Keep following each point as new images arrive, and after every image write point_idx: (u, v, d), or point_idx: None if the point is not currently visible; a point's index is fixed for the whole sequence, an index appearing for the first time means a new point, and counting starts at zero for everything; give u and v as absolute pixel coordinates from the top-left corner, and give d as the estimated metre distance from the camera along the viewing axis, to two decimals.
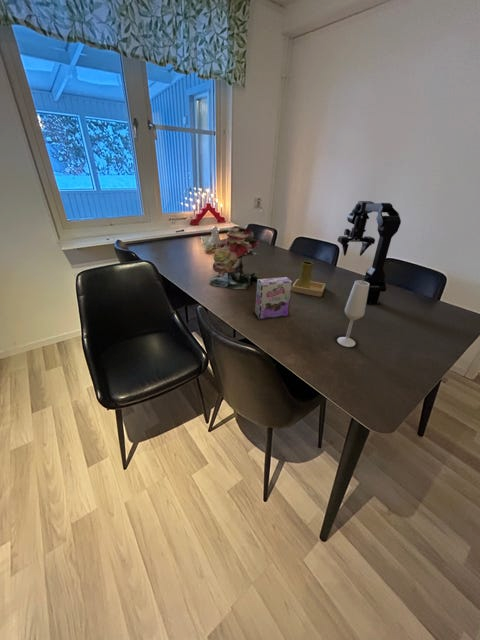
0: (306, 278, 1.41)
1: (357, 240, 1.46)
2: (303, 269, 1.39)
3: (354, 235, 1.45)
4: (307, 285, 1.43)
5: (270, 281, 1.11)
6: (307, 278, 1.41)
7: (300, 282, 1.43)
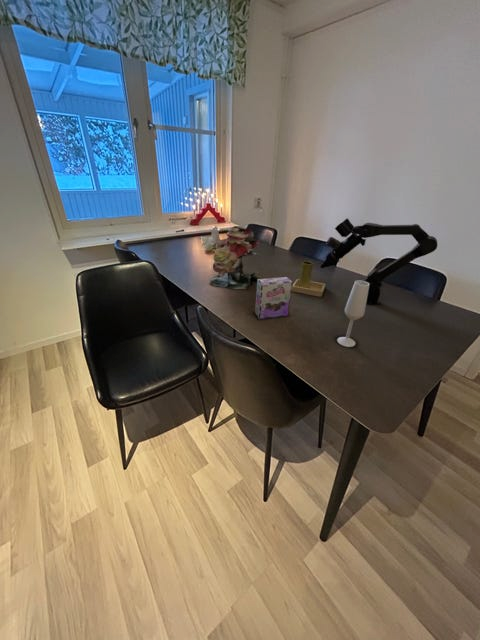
0: (306, 278, 1.41)
1: None
2: (303, 269, 1.39)
3: (342, 254, 1.30)
4: (307, 285, 1.43)
5: (270, 281, 1.11)
6: (307, 278, 1.41)
7: (300, 282, 1.43)
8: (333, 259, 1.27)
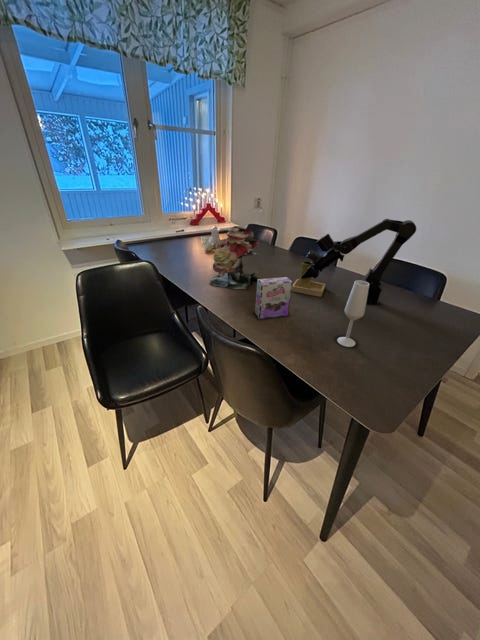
0: (306, 278, 1.41)
1: None
2: (303, 269, 1.39)
3: (321, 267, 1.35)
4: (307, 285, 1.43)
5: (270, 281, 1.11)
6: (307, 278, 1.41)
7: (300, 282, 1.43)
8: (314, 273, 1.31)
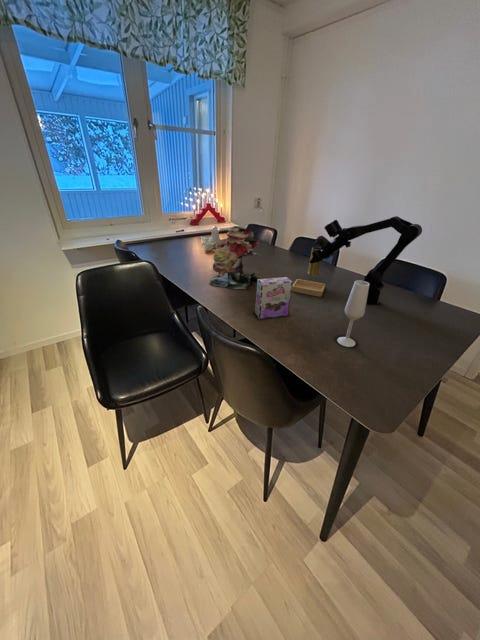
0: (314, 263, 1.46)
1: None
2: None
3: (328, 253, 1.39)
4: (315, 270, 1.48)
5: (270, 281, 1.11)
6: (315, 263, 1.46)
7: (309, 267, 1.49)
8: (317, 256, 1.36)
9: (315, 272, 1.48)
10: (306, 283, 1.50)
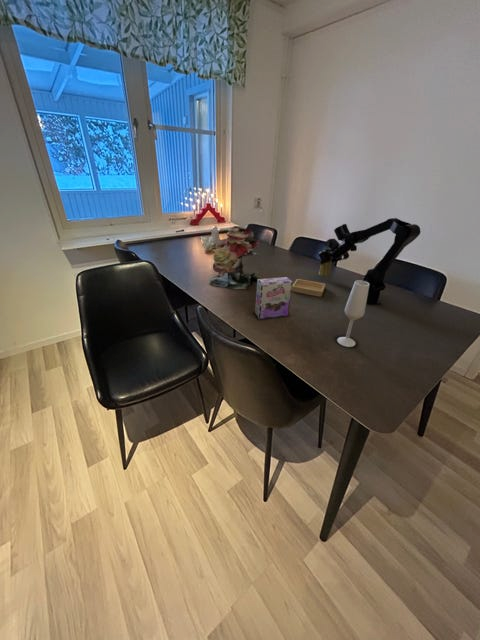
0: (324, 264, 1.53)
1: None
2: None
3: (335, 255, 1.45)
4: (325, 271, 1.54)
5: (270, 281, 1.11)
6: (325, 264, 1.53)
7: (320, 267, 1.57)
8: (322, 257, 1.44)
9: (325, 273, 1.55)
10: (306, 283, 1.50)
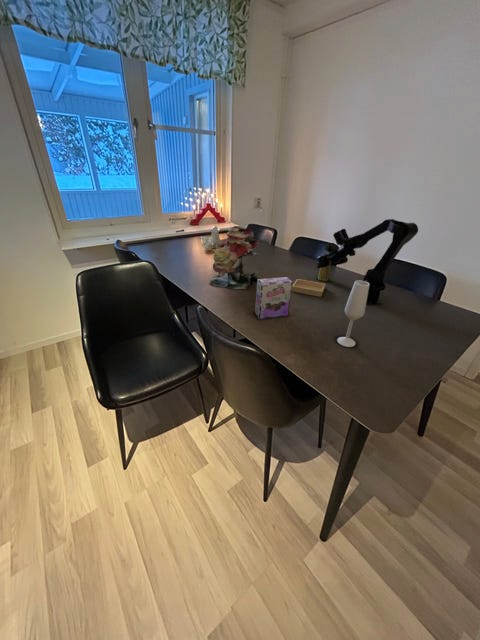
0: (323, 269, 1.55)
1: None
2: None
3: (334, 259, 1.46)
4: (324, 276, 1.56)
5: (270, 281, 1.11)
6: (324, 269, 1.54)
7: (319, 272, 1.58)
8: (321, 262, 1.45)
9: (324, 278, 1.56)
10: (306, 283, 1.50)
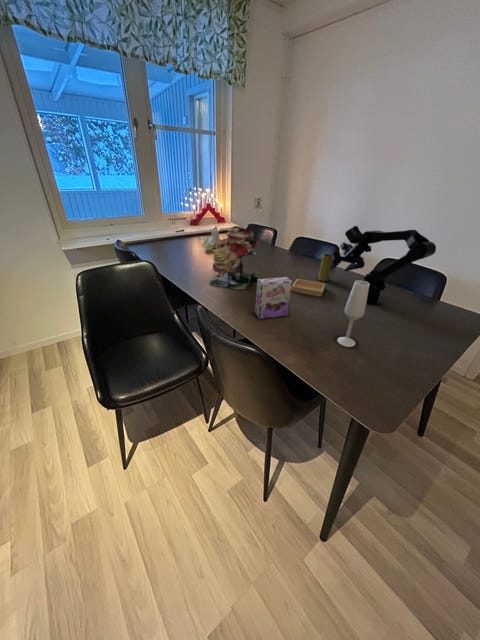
0: (323, 269, 1.55)
1: None
2: (322, 260, 1.54)
3: (348, 257, 1.38)
4: (324, 276, 1.56)
5: (270, 281, 1.11)
6: (324, 269, 1.54)
7: (319, 272, 1.58)
8: (333, 257, 1.38)
9: (324, 278, 1.56)
10: (306, 283, 1.50)
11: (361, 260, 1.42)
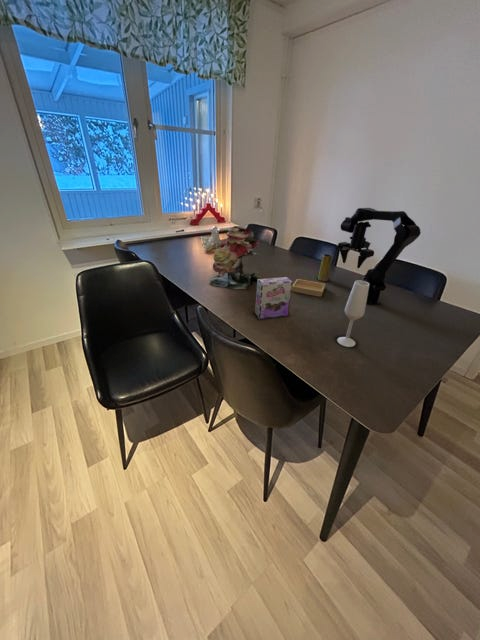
0: (323, 269, 1.55)
1: (352, 249, 1.37)
2: (322, 260, 1.54)
3: None
4: (324, 276, 1.56)
5: (270, 281, 1.11)
6: (324, 269, 1.54)
7: (319, 272, 1.58)
8: None
9: (324, 278, 1.56)
10: (306, 283, 1.50)
11: (367, 250, 1.31)
